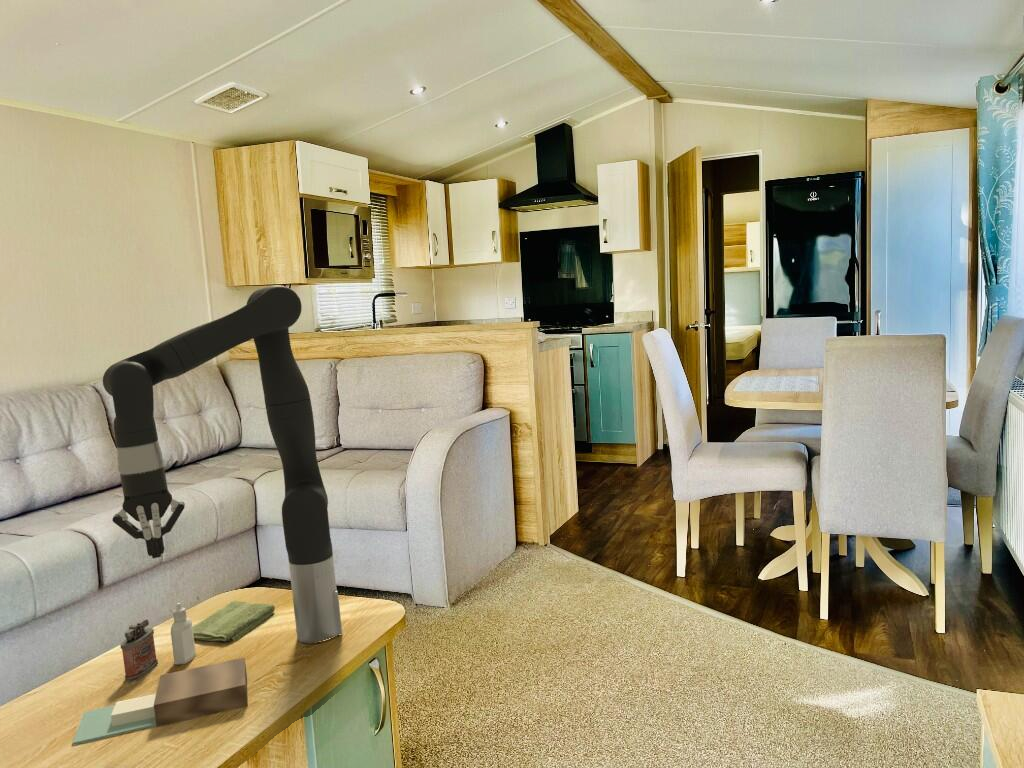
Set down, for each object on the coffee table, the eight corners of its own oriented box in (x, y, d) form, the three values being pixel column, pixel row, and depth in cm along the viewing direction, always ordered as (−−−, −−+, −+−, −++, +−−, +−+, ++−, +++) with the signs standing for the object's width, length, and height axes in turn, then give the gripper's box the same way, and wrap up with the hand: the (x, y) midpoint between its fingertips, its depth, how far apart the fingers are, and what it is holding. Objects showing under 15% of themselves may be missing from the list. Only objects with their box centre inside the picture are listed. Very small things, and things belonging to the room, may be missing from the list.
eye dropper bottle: (203, 654, 160) (197, 599, 159) (180, 666, 155) (173, 610, 154) (189, 651, 162) (183, 597, 161) (166, 663, 157) (159, 607, 156)
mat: (162, 696, 143) (162, 694, 143) (156, 725, 133) (156, 723, 133) (84, 713, 139) (84, 711, 139) (72, 745, 129) (72, 742, 128)
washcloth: (181, 642, 168) (179, 628, 168) (234, 610, 185) (233, 597, 184) (230, 647, 164) (228, 632, 164) (280, 613, 180) (278, 600, 180)
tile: (159, 703, 140) (158, 693, 140) (156, 717, 135) (154, 706, 135) (117, 712, 138) (116, 701, 137) (112, 726, 133) (110, 715, 133)
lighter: (135, 682, 150) (129, 633, 149) (120, 681, 151) (114, 633, 150) (162, 662, 158) (156, 616, 157) (147, 662, 158) (141, 616, 157)
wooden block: (247, 676, 148) (244, 657, 148) (247, 705, 137) (245, 684, 137) (162, 695, 144) (160, 675, 143) (156, 727, 132) (153, 705, 132)
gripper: (180, 458, 149) (194, 544, 151) (105, 470, 144) (120, 559, 146) (179, 464, 142) (194, 554, 144) (99, 477, 137) (116, 570, 139)
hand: (156, 556), depth 145 cm, fingers closed
